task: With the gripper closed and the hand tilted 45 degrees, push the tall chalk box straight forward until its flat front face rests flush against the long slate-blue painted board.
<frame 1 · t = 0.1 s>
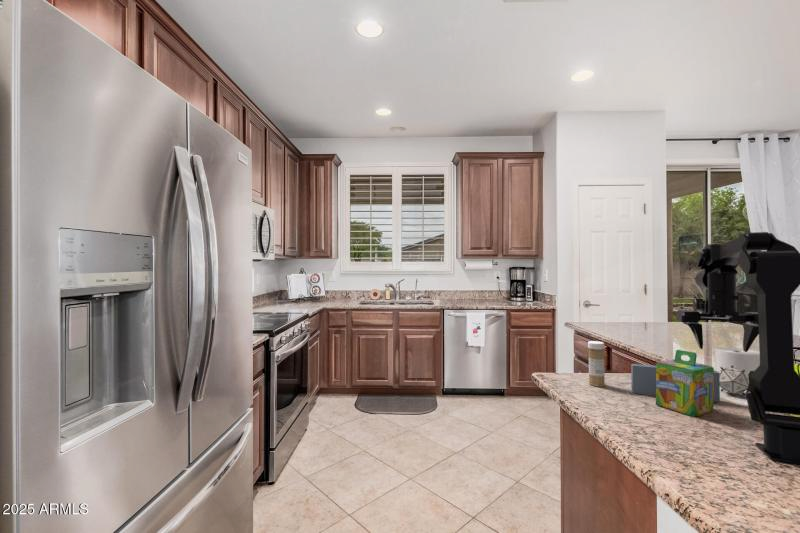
hand: (722, 350, 96), 15 cm above the countertop, fingers open, 9 cm apart
toilet tissue: (740, 383, 116), on the countertop
game die: (732, 395, 105), on the countertop
board: (673, 396, 103), on the countertop
sprinkles bottle: (596, 385, 114), on the countertop
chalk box: (684, 409, 94), on the countertop
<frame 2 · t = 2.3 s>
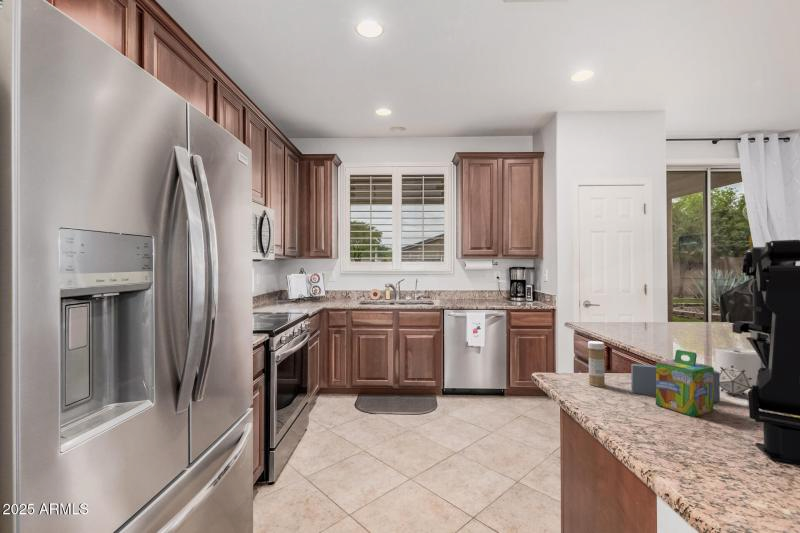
hand: (771, 371, 82), 13 cm above the countertop, fingers closed
nothing on the countertop moved.
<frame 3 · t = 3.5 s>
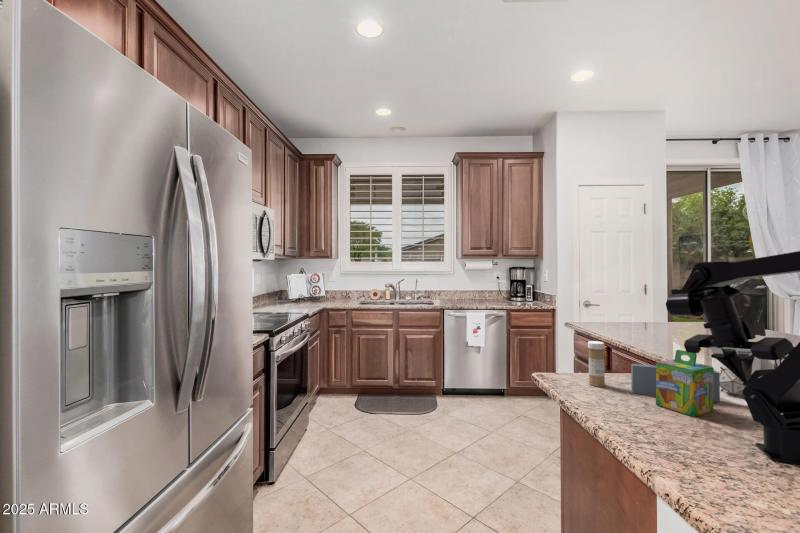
hand: (747, 382, 81), 11 cm above the countertop, fingers closed
nothing on the countertop moved.
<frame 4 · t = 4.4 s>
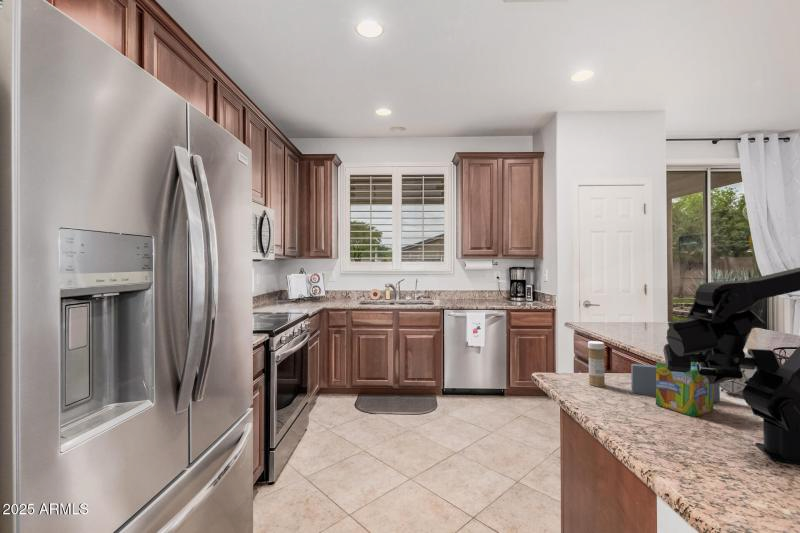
hand: (710, 382, 83), 10 cm above the countertop, fingers closed
nothing on the countertop moved.
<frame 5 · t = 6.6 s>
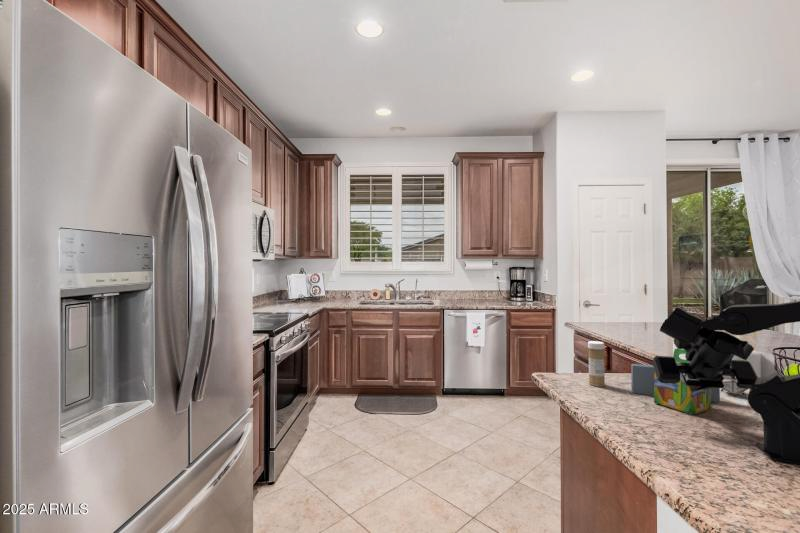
hand: (691, 389, 90), 7 cm above the countertop, fingers closed
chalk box: (682, 407, 96), on the countertop, touching gripper
everything else where it was.
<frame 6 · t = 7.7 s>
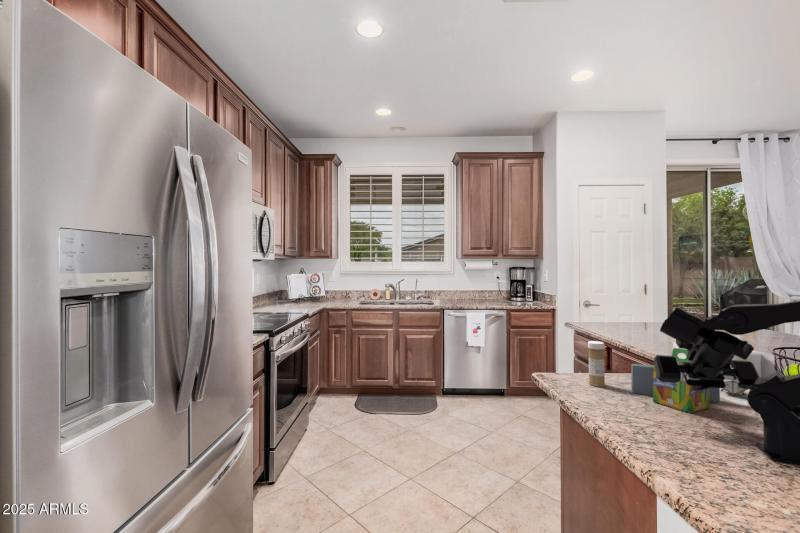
hand: (693, 388, 90), 7 cm above the countertop, fingers closed
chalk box: (681, 406, 97), on the countertop
everything else where it was.
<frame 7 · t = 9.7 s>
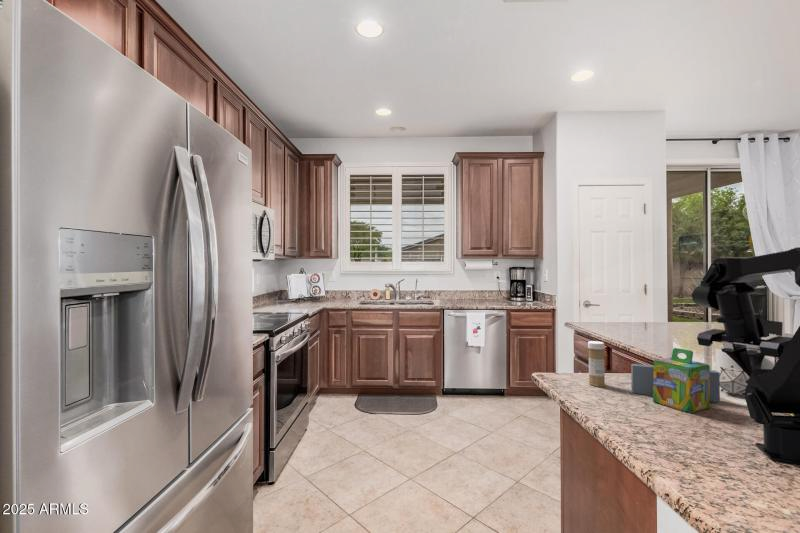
hand: (754, 378, 82), 11 cm above the countertop, fingers closed
nothing on the countertop moved.
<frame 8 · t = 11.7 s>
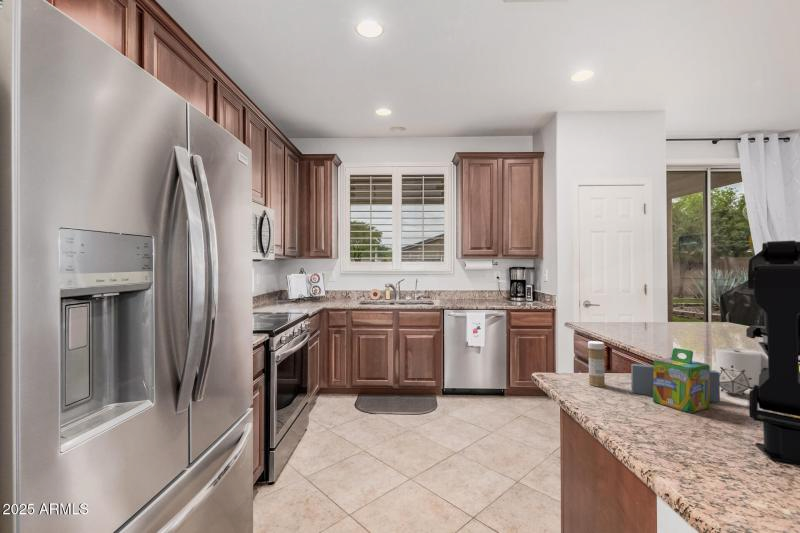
hand: (783, 377, 81), 12 cm above the countertop, fingers closed
nothing on the countertop moved.
at the end: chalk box inside the target area on the countertop beside the board (0.7 cm from its centre), on the countertop; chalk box tilted 0° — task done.
